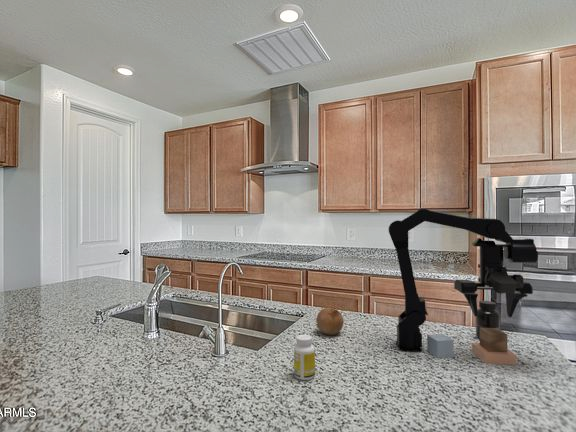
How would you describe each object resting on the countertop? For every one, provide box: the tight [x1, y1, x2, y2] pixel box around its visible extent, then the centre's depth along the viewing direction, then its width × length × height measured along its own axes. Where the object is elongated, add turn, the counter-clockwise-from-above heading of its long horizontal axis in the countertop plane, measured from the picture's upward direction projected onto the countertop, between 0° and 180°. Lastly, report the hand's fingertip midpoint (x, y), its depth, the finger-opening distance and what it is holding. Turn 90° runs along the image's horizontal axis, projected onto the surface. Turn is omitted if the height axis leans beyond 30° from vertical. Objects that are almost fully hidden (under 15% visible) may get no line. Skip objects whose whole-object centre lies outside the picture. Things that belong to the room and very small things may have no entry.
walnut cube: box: [479, 328, 508, 352], centre depth 91 cm, size 5×5×5 cm
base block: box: [471, 342, 518, 365], centre depth 91 cm, size 8×8×3 cm
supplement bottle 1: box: [293, 334, 316, 381], centre depth 81 cm, size 5×5×10 cm
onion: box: [315, 307, 345, 336], centre depth 111 cm, size 10×9×10 cm
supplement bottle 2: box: [475, 300, 501, 340], centre depth 105 cm, size 7×7×12 cm
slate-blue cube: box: [426, 333, 454, 359], centre depth 94 cm, size 5×5×5 cm
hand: (492, 316), depth 91 cm, fingers open, 9 cm apart
